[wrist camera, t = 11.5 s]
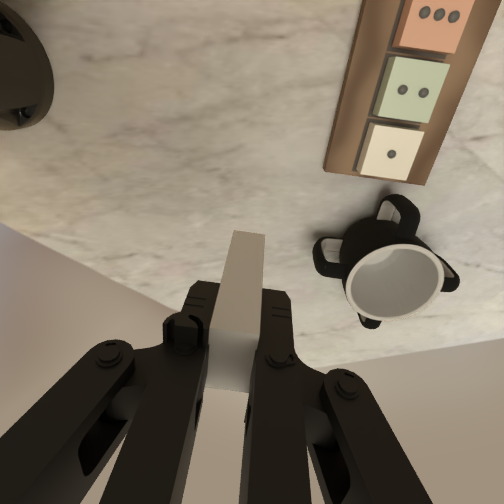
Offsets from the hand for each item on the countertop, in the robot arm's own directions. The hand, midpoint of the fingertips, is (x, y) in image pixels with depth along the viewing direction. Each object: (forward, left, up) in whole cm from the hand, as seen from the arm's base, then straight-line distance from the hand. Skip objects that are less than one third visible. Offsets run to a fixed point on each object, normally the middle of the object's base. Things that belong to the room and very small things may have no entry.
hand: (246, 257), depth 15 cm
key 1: (+16, +1, -30) cm, 34 cm away
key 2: (+16, +8, -30) cm, 35 cm away
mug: (+19, -14, -33) cm, 40 cm away
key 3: (+16, +15, -30) cm, 37 cm away
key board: (+16, +8, -32) cm, 37 cm away
